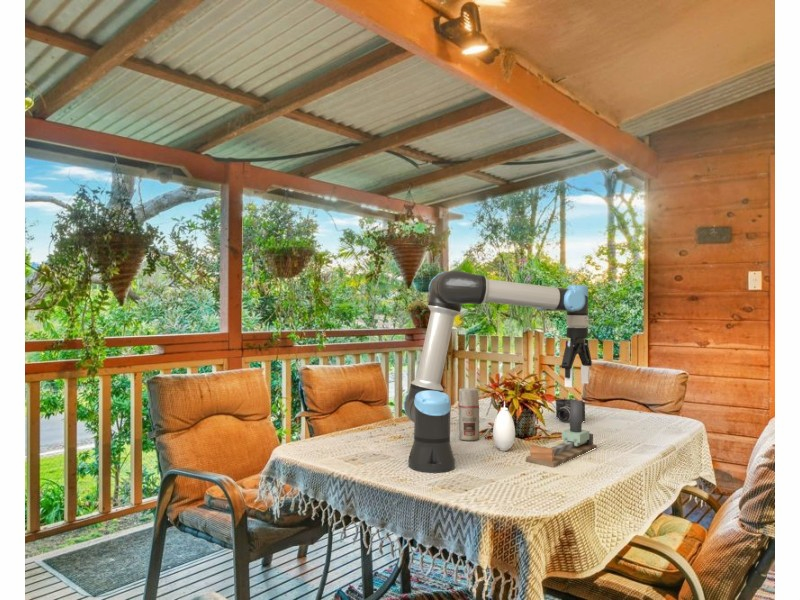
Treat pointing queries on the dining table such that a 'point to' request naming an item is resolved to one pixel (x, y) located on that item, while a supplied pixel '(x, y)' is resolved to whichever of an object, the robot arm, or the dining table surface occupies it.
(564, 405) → the camera
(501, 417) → the white air blower bulb
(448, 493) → the dining table surface
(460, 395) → the spray can
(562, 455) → the rail bed
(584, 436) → the green base with post
